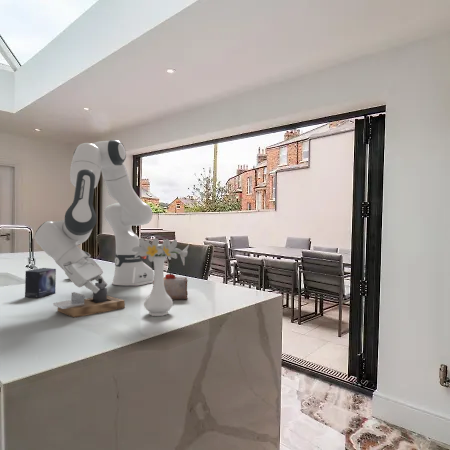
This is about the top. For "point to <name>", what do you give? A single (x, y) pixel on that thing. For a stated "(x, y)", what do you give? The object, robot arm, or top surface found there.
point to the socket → (94, 307)
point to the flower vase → (159, 272)
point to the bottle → (100, 292)
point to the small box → (40, 282)
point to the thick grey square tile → (71, 301)
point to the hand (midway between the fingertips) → (101, 289)
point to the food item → (175, 287)
